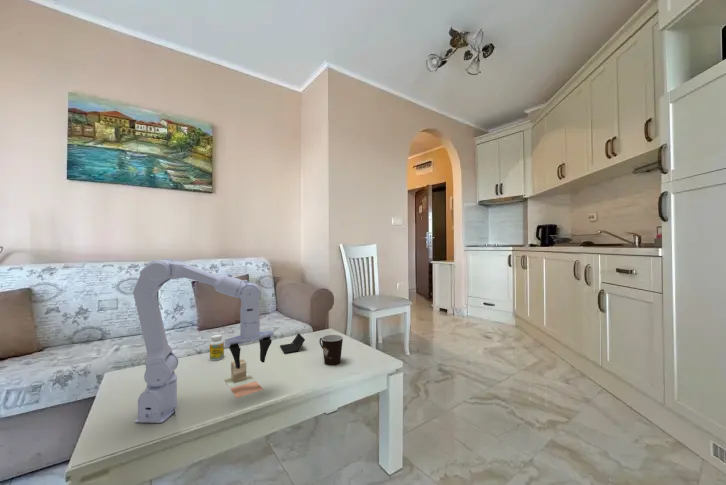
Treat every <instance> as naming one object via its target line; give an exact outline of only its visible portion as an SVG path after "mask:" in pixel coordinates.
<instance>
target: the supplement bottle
mask: <svg viewBox="0 0 726 485" xmlns="http://www.w3.org/2000/svg"><path fill="white" fill-rule="evenodd" d="M224 347H225V340H223V336H222V334H214V335H212V336H211V337H210V342H209V360H210V361H212V362H213V361H220V360H222V359H224V357H225V348H224Z"/></svg>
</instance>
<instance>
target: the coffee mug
mask: <svg viewBox="0 0 726 485" xmlns="http://www.w3.org/2000/svg"><path fill="white" fill-rule="evenodd" d="M343 339H344V337H343V336H342V335H340V334H327V335H324V336H322V337H320V338H319V345H320V348H321V349H322V351H323V360H324V364H325V365H326V366H330V367H331V366H337V365H340V364H341V359H342V349H343V341H344V340H343Z"/></svg>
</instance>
